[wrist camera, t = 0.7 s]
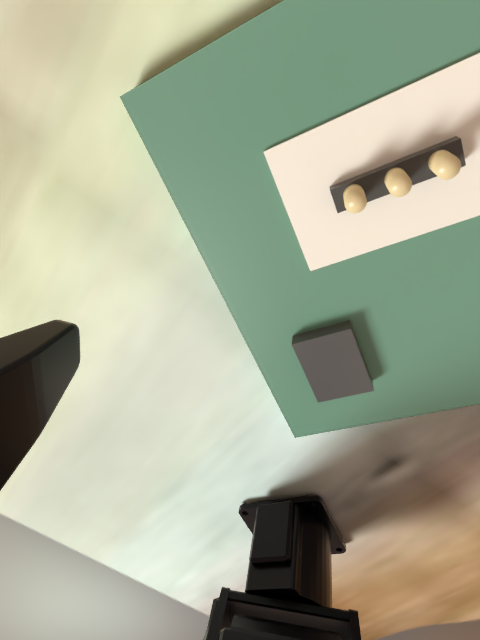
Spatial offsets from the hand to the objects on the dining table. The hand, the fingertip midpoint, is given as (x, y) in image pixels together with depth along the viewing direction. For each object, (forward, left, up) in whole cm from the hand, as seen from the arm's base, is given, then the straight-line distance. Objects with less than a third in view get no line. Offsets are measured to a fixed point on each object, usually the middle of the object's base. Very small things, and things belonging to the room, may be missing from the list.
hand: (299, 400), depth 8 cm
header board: (-3, -2, -13) cm, 13 cm away
